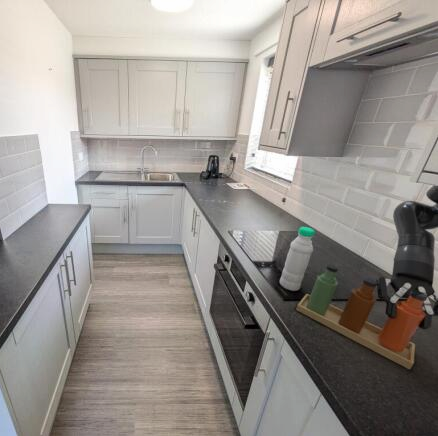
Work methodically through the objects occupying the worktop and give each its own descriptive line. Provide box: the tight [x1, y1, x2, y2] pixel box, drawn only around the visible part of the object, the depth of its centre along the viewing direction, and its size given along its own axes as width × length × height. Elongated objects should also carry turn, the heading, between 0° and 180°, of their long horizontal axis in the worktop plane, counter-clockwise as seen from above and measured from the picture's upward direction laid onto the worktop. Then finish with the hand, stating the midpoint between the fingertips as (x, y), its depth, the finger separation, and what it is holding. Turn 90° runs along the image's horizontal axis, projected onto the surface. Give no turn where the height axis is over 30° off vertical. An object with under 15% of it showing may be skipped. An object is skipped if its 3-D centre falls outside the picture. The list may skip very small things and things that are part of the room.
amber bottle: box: [338, 277, 377, 334], centre depth 69 cm, size 5×5×18 cm
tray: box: [295, 293, 416, 370], centre depth 72 cm, size 27×9×2 cm, turn 41°
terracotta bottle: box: [378, 290, 429, 351], centre depth 62 cm, size 5×5×18 cm
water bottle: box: [279, 226, 315, 292], centre depth 87 cm, size 7×7×25 cm
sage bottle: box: [307, 263, 339, 316], centre depth 75 cm, size 5×5×18 cm
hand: (407, 322), depth 61 cm, fingers closed on terracotta bottle, 5 cm apart
